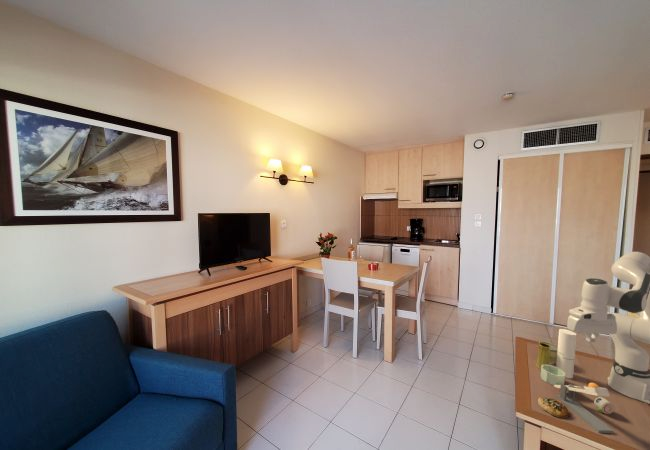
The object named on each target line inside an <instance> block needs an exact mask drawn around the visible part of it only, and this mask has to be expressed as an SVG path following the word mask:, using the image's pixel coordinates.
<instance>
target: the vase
mask: <svg viewBox="0 0 650 450" xmlns="http://www.w3.org/2000/svg"><path fill="white" fill-rule="evenodd" d="M537 348H538V349H537V357H536V364H535V367H536V368H537V369H538V370H540V371H541V366H542V365H551V364H550V346H549V345H547V344H545V343H539V342H538V347H537Z"/></svg>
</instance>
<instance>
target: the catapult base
mask: <svg viewBox="0 0 650 450" xmlns="http://www.w3.org/2000/svg"><path fill="white" fill-rule="evenodd" d="M565 385H566V384H565V383H564V384H561V388H559V394H556V395H555V397H556V399H558V401H559V402H561V403H562V404H563V405H565V406H566V407H567V408H569V410H571V411H572V412H574V413H575V414H576V415H577V416H578V417H579V418H581V419H582V420H583V421H585V422H586V423H587V424H588V425H589V426H590V427H591V428H592V429H594V430H595V431H597V433H603V434H604V433H605V434H609V433H610V434H614V430H613V429H612V428H610V427H609V426H608V425H607V424H606V423H604V422H603V421H602V420H600V419H599V418H598V417H597V416H596V415H594V414H593V413H592V412H590V411H589V410H588V409H586V408H585V407H584V406H583V405H581V403H579V402H577V401H576V399H575V396H576V391H571V390H567V387H566V386H565ZM568 385H569V387H572V388H575V387H574V386H575V385H573V384H572V383H569V384H568Z"/></svg>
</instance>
